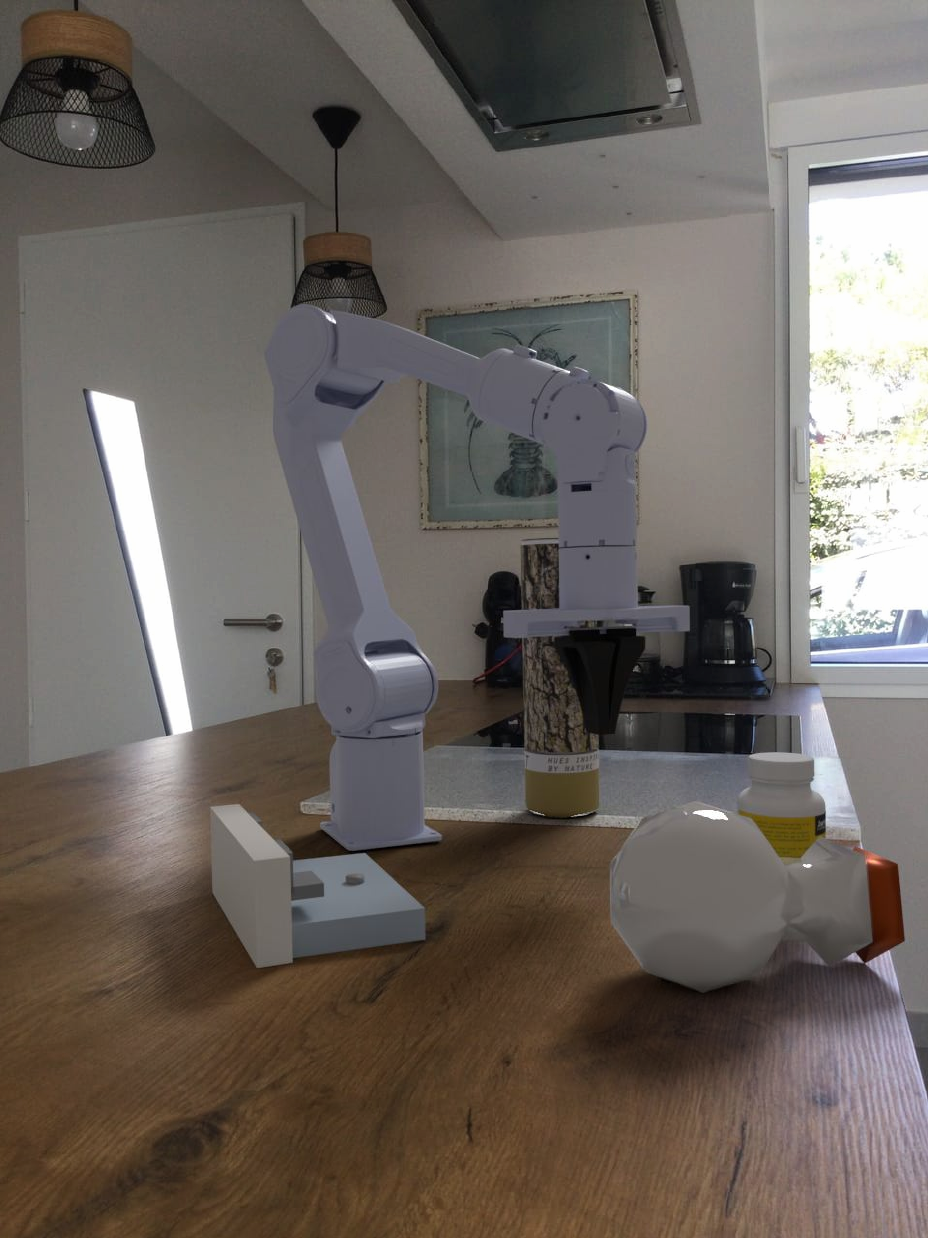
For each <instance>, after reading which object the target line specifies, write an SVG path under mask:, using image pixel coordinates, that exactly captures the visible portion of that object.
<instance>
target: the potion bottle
mask: <svg viewBox="0 0 928 1238" xmlns="http://www.w3.org/2000/svg"><path fill="white" fill-rule="evenodd" d="M899 872H900V871H899V864H898V863H897V862H894V861H893V860H889V859H886V858H885V857H882V856H879V854H875V853H872V852H871V851H868V850H865V849H863V848H860V847H858V846H854V847H853V848H852V849H851V848H849V847H847V846H844V845H842V844H840V843H837V842H836V841H833V840H830V839H828V838H824V837H821V836H819V838H818V839H817V840H816V841H815V842H814V843H813V844H812V846H811V847H810V848H809V849H808V850H807V851H806V852H805V854H804V855H803V856H802V857H801V858H788V857H779V856H778V855H777V853H776V852H775V851H774V849H773V848H772V846H771V845H770V843H769V842H768V840H767V839H766V838H765V836H764V835H763V834H762V832H761V831H760V829H759V828H758V827H757V825H756V824H755V822H754V821H753V820H752V818H749V817H746V816H742V815H739V814H737V813H735V812H733V811H729V810H726V809H723V808H719V807H716V806H714V805H713V806H712V805H710V804H708V803H703V802H700V801H697V800H694V801H691V802H688V803H684V804H681V805H678V806H675V807H672V808H669V809H665V810H663V811H660V812H657V813H654V814H651V815H648V816H644V817H641V818H640V820H639V822H638V823H637V824H636V826H635V828H634V829H633V830H632V831H631V833H630V835H629V836H628V838H627V839H626V840H625V842H624V843H623V844H622V846H621V847H620V849H619V850H618V852H617V853H616V854H615V856H614V857H613V859H612V860H611V861H610V863H609V892H610V893H609V898H610V899H609V903H610V905H609V906H610V908H609V909H610V911H609V912H610V917H609V919H610V921H609V922H610V924H611V925H612V926H613V928H614V930H615V931H616V932H617V934H618V935H619V936H620V938H621V939H622V941H623V943H625V945H626V947H627V948H628V950H629V951H630V952H631V954H632V955H633V956H634V958H635V960H636V961H637V962H638V964H639V965H640V966H641V968H642V969H643V971H644V972H645V973H648V974H650V975H652V976H654V977H655V976H656V977H658V978H661V979H664V980H666V981H668V982H669V981H670V982H672V983H675V984H678V985H680V986H683V987H685V988H688V989H691V990H693V991H696V992H699V993H702V994H704V993H708V992H710V991H714V990H717V989H720V988H724V987H727V986H730V985H733V984H736V983H737V984H738V983H741V982H743V981H747V980H750V979H753V978H757V977H760V976H761V975H762V973H763V971H764V969H765V968H766V966H767V964H768V963H769V961H770V959H771V957H772V956H773V954H774V952H775V951H776V949H777V948H778V946H779V944H780V943H781V941H784V942H786V941H787V942H806V943H807V944H808V945H809V946H810V947H811V948H812V950H813V951H814V952H815V953H816V954H817V955H818V956H819V957H820V959H821V960H822V961H823V962H824V963H825V964H826V965H827V967H829V968H830V967H833V966H834V965H836V964H838V963H839V962H842V961H843V960H844V959H846V958H848V957H849V956H852V954H856V956H858V957H859V959H860V960H861V961H862V963H863V964H867V963H869V962H871V961H872V960H875V958H877V957H879V956H881V955H883V954H884V953H886V952H888V951H890V950H891V949H894V948H895V947H897V946H899V945H901V944H902V943H905V942H906V939H905V928H904V927H905V925H904V917H903V916H904V915H903V906H902V904H903V903H902V895H901V884H900V875H899V874H900V873H899Z"/></svg>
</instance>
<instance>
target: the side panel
mask: <svg viewBox="0 0 928 1238" xmlns="http://www.w3.org/2000/svg"><path fill="white" fill-rule="evenodd" d="M209 814H210V815H209V817H210V818H209V819H210V820H209V822H210V824H209V825H210V849H211V850H210V851H211V852H210V854H211V855H210V856H211V858H210V859H211V887H212V889H211V890H212V891H211V892H212V894H213V896H214V898H215V900H216V902H217V903H218V905H219V906H220V909H221V910H222V911H223V913H224V915H225V917H226V919H227V920H228V921H229V923H230V925H231V927H232V928H233V930H234V932H235V933H236V935H237V937H238V939H239V940H240V942H241V944H242V946H243V947H244V948H245V950H246V952H247V954H248V955H249V957H250V959H251V961H252V962H253V964H254V966H255V967H256V968H257V969H261V968H262V969H263V968H268V967H273V966H274V967H275V966H282V965H287V964H293V959H294V958H293V954H292V914H291V901H294V900H302V899H310V898H317V897H324V883H323V882H322V881H321V880H320V879H319V878H318V877H317V876H316V875H315V874H314V873H313V872H312V871H304V872H296V873H293V861H294V857H293V855H294V853H293V851H292V850H291V849H290V848H289V846H288V845H287V844H285V842H284V841H283V840H282V839H281V838H277V839H274V838H273V837H272V836H271V835H270V834H269V833H268V832H267V831H266V830H265V829H264V828H263V821H262V820H261V819H260V818H259V817H258V816H257V815H256V814H255V813H254V812H248V811H246V809H244V807H243V806H242V805H241V804H239V803H235V804H234V803H233V804H227V805H225V804H223V805H214V806H209Z"/></svg>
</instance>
